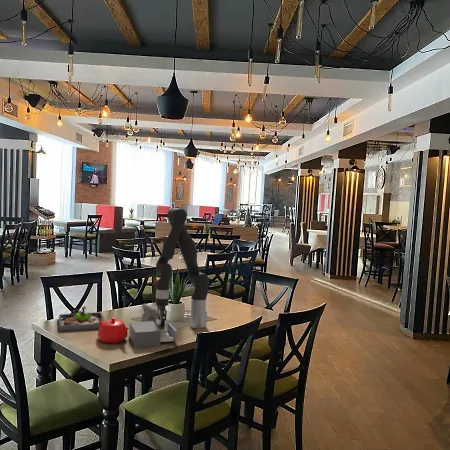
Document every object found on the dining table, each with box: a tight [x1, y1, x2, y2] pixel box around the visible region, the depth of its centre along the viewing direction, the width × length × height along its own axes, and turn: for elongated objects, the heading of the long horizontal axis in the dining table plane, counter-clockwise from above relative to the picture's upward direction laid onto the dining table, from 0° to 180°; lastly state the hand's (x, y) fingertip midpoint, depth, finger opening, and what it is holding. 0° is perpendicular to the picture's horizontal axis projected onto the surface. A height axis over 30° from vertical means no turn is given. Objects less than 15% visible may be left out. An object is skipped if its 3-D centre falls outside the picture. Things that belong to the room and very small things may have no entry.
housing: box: [128, 321, 161, 349], centre depth 225 cm, size 13×18×8 cm
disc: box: [156, 318, 168, 326], centre depth 242 cm, size 6×6×2 cm
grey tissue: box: [141, 303, 158, 326], centre depth 259 cm, size 16×9×11 cm, turn 25°
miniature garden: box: [64, 305, 100, 326], centre depth 250 cm, size 20×20×11 cm
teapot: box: [97, 316, 130, 344], centre depth 223 cm, size 25×16×12 cm, turn 51°
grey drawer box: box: [160, 322, 178, 343], centre depth 228 cm, size 13×15×6 cm
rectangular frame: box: [58, 311, 106, 332], centre depth 249 cm, size 25×25×3 cm
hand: (161, 325), depth 242 cm, fingers closed on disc, 6 cm apart
